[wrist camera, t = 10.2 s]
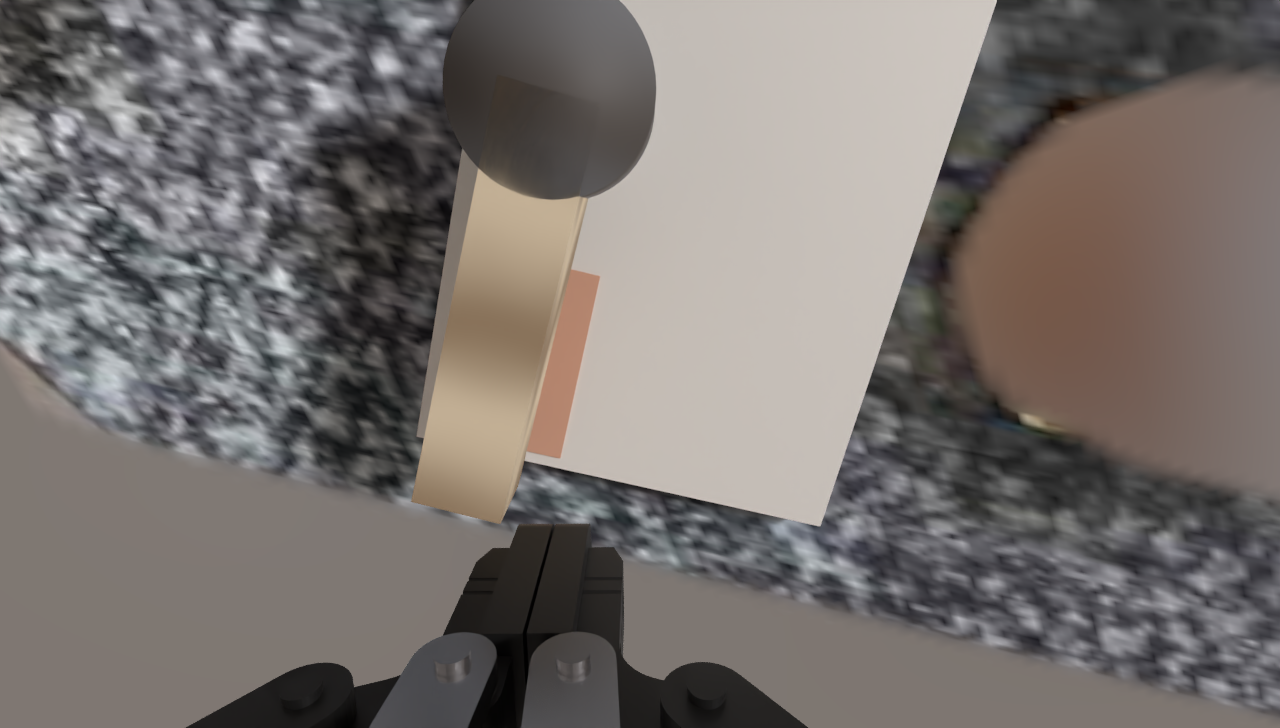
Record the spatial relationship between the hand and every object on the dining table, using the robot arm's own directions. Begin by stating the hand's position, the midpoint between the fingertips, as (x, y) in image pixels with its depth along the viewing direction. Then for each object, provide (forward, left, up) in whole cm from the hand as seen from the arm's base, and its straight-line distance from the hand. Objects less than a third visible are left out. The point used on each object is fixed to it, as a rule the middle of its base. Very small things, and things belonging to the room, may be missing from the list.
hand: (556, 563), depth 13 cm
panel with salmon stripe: (+2, +7, -15) cm, 16 cm away
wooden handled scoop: (-3, +5, -10) cm, 12 cm away
